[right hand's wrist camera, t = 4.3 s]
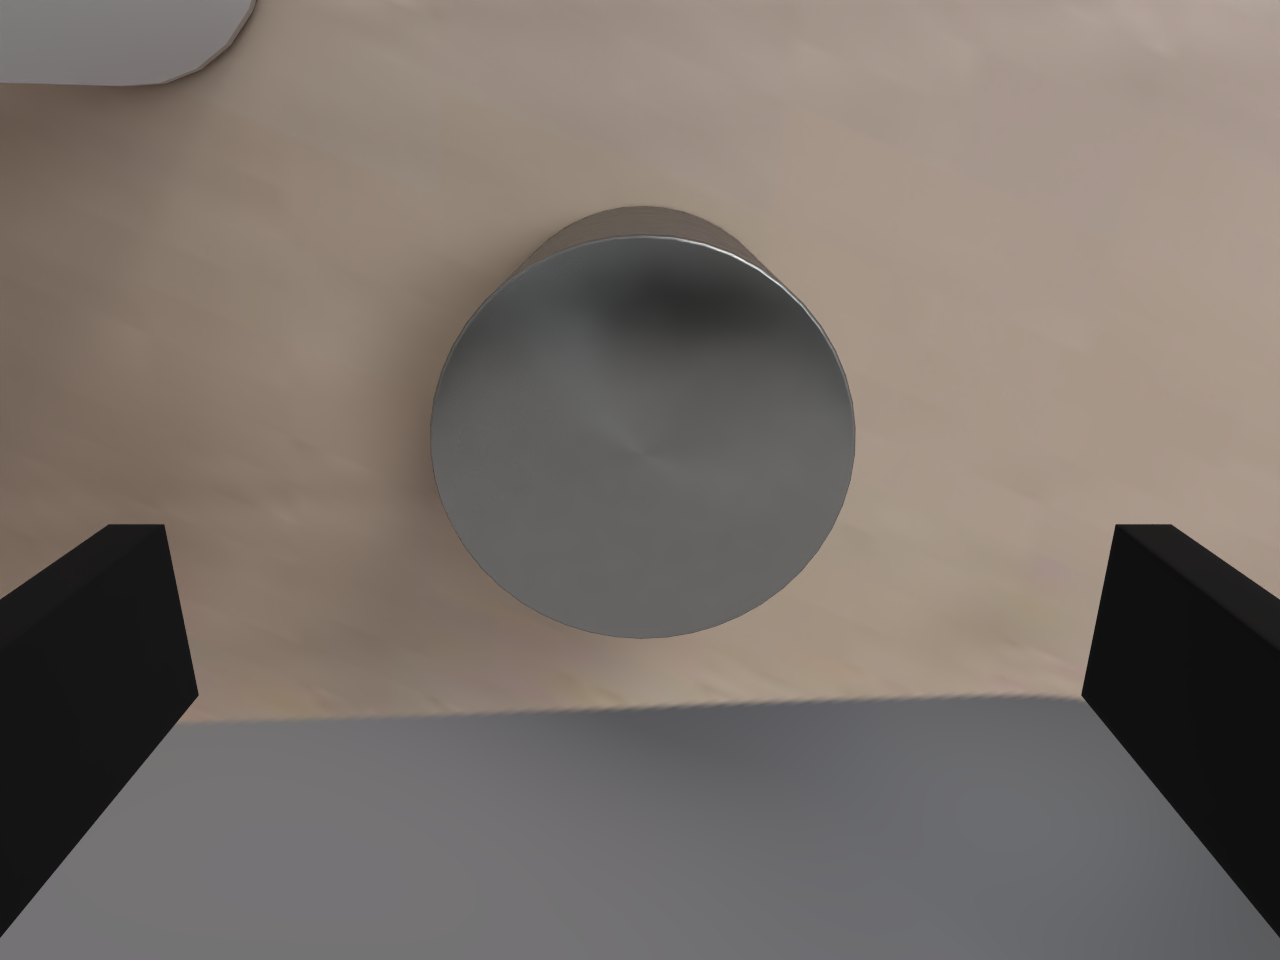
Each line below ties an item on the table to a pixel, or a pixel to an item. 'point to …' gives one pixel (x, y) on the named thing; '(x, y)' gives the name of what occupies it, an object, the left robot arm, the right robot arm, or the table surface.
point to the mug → (114, 39)
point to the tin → (642, 428)
